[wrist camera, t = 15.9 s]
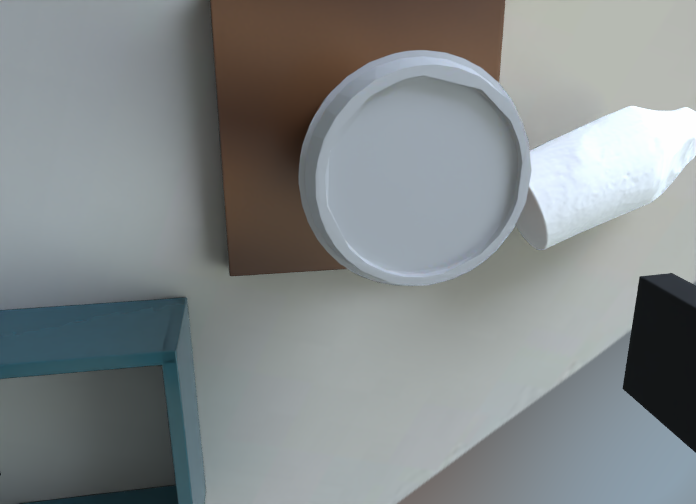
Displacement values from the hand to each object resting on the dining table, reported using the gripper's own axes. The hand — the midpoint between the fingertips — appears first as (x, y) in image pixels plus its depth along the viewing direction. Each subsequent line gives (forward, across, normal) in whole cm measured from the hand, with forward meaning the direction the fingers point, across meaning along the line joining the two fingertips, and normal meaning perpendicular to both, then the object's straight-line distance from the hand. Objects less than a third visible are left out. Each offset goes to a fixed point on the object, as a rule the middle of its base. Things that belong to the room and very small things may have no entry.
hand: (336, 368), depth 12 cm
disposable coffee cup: (+23, +6, +1) cm, 24 cm away
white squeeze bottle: (+25, +20, -2) cm, 32 cm away
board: (+25, +6, +1) cm, 25 cm away
